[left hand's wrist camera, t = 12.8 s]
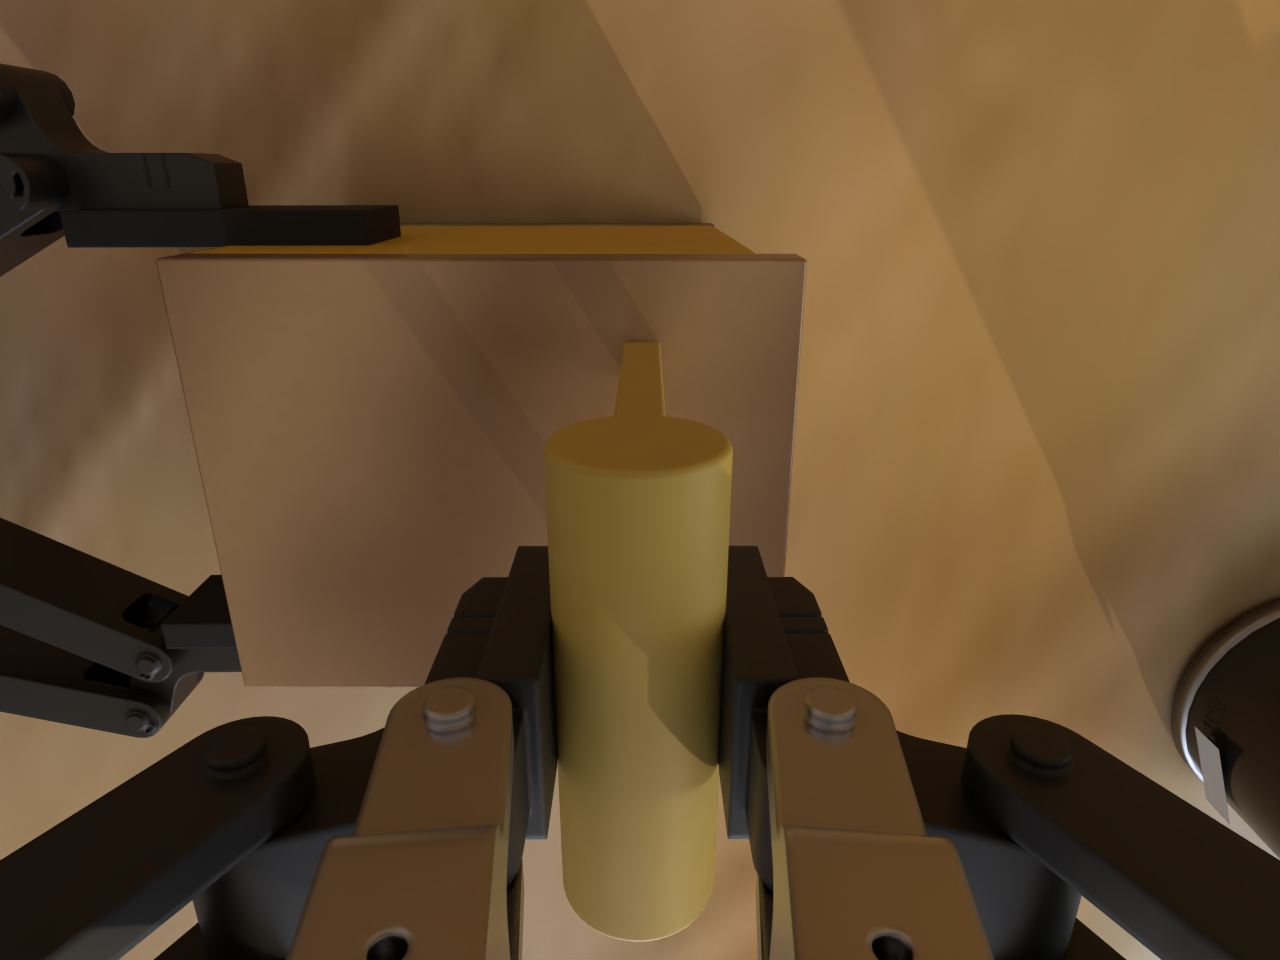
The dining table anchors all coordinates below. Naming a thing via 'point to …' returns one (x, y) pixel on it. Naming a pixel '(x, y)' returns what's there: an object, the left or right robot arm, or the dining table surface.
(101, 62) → the dining table surface
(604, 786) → the lid
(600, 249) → the chest
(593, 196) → the dining table surface
